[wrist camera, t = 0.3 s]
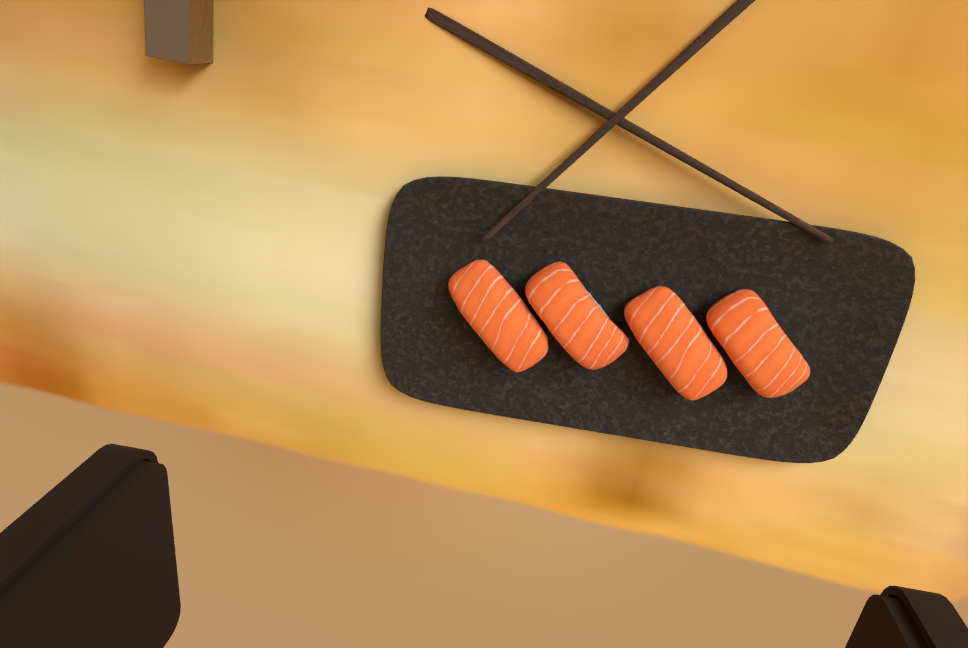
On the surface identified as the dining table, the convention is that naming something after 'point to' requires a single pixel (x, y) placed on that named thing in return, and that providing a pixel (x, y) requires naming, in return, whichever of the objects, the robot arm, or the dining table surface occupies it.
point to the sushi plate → (638, 305)
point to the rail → (179, 30)
